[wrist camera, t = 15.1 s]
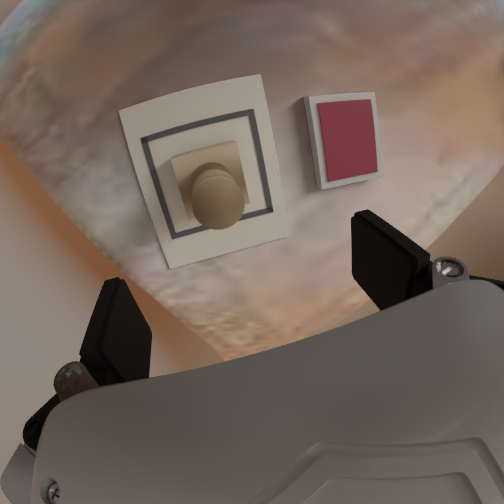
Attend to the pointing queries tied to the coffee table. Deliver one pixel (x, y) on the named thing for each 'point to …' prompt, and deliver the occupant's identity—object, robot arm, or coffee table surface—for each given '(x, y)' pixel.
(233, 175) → the stamp
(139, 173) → the marked card
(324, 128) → the ink pad
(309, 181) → the coffee table surface
